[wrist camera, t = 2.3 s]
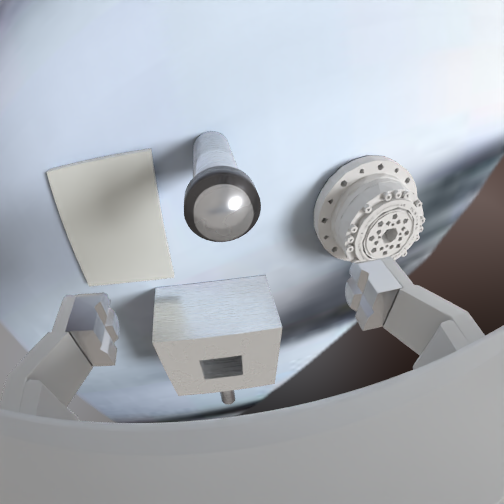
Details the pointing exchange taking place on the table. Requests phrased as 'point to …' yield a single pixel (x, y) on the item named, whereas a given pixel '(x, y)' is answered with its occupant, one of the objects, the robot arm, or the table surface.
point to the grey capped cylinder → (219, 192)
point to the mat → (113, 217)
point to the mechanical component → (368, 211)
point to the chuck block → (217, 335)
